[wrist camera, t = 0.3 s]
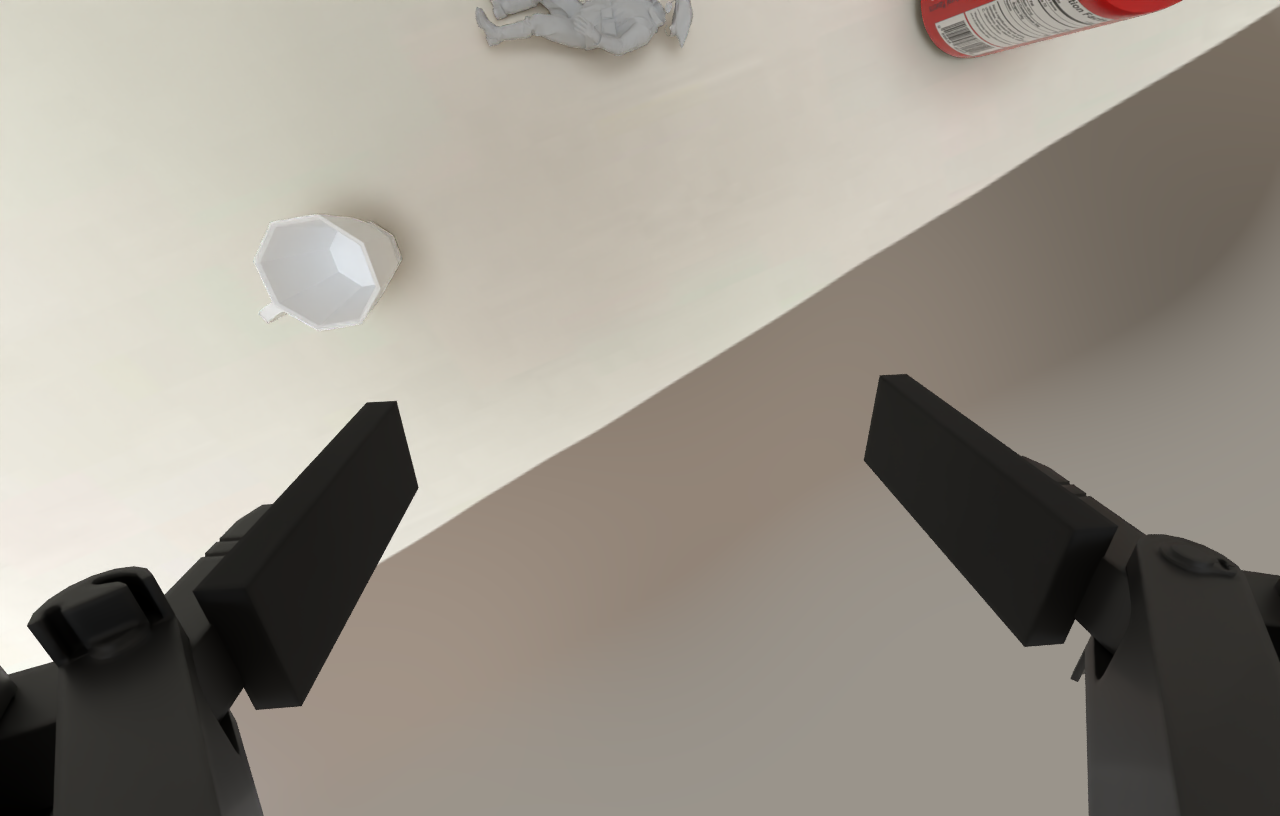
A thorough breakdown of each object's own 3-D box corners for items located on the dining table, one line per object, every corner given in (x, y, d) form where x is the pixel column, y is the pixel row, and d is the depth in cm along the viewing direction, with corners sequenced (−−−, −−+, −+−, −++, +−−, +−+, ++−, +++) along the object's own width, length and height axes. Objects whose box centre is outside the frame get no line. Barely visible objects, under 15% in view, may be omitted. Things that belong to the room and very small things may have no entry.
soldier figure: (491, -58, 32) (687, -106, 29) (527, 22, 36) (699, -12, 33) (465, 34, 29) (675, -7, 26) (506, 108, 34) (690, 80, 31)
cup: (441, 268, 39) (405, 294, 32) (339, 337, 41) (283, 377, 33) (372, 179, 36) (316, 186, 29) (266, 258, 38) (187, 283, 31)
